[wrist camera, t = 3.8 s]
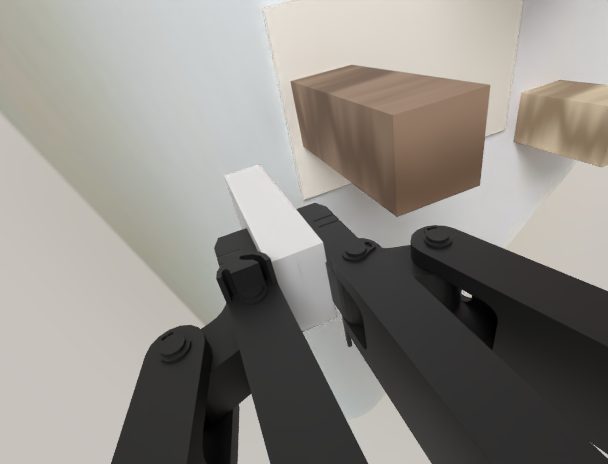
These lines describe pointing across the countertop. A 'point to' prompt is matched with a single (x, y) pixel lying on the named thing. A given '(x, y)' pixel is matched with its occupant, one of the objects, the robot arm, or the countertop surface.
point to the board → (391, 53)
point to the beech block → (566, 120)
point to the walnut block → (395, 132)
